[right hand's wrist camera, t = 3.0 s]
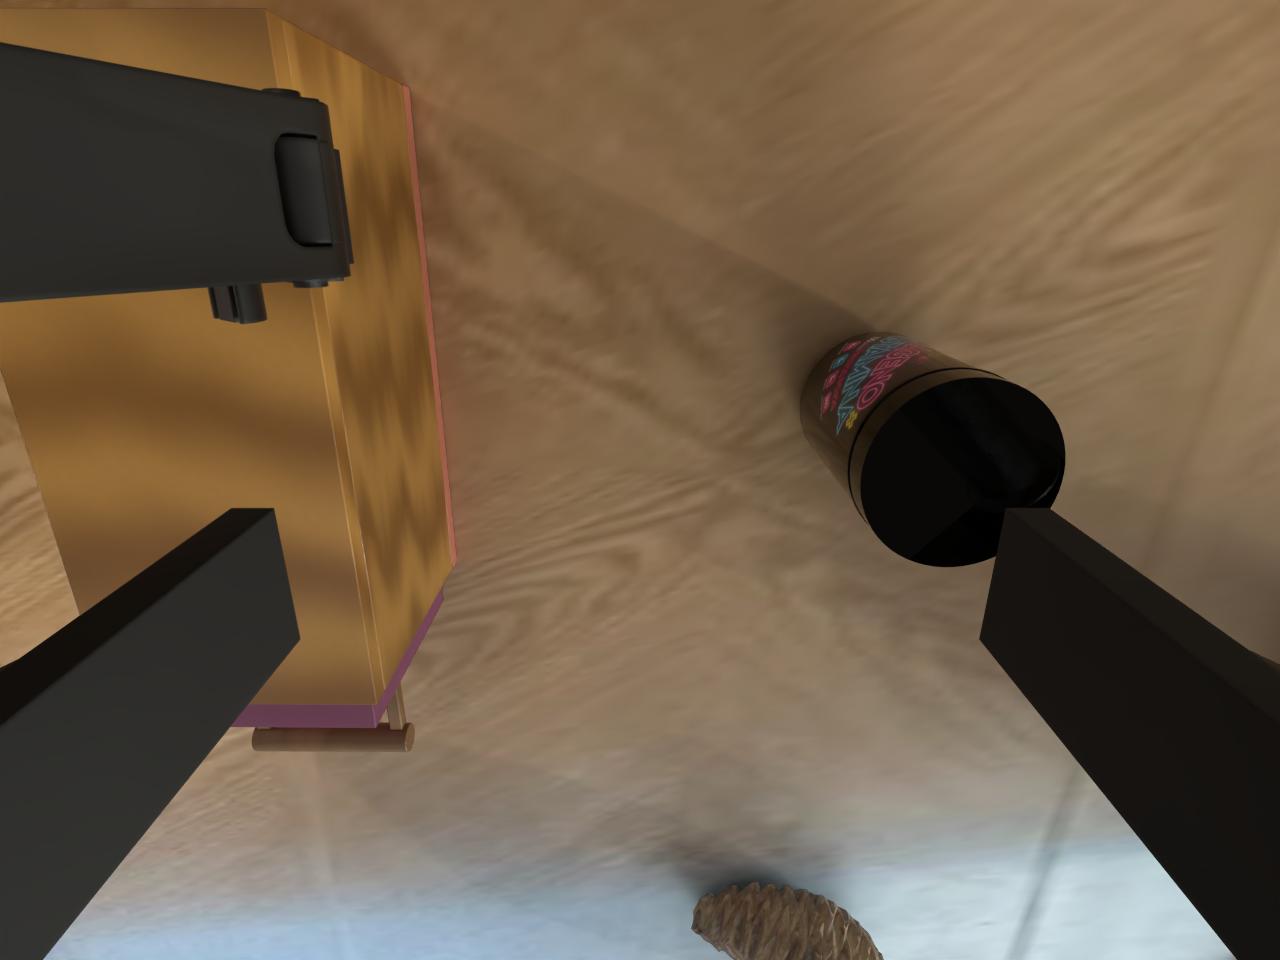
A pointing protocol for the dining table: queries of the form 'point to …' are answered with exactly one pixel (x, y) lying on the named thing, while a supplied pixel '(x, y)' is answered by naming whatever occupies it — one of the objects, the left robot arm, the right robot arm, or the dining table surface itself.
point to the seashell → (780, 925)
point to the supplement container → (930, 446)
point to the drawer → (339, 717)
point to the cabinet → (254, 376)
